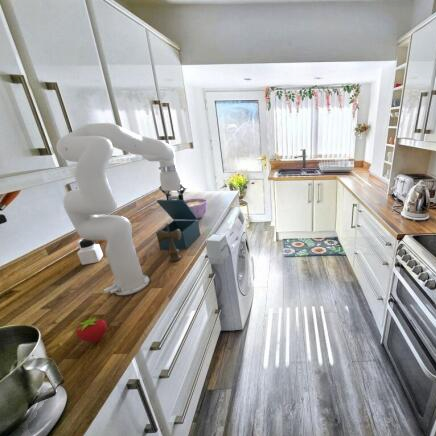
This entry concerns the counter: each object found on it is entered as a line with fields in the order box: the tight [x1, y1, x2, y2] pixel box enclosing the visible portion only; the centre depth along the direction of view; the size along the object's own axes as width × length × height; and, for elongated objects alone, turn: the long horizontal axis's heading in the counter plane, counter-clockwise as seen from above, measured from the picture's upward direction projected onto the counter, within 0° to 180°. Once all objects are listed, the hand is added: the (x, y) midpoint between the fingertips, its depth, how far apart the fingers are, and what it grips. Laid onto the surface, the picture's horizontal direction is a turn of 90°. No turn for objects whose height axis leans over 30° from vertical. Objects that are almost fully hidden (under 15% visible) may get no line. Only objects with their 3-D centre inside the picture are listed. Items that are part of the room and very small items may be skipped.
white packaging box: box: [204, 233, 230, 266], centre depth 115 cm, size 7×7×13 cm
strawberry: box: [75, 316, 108, 344], centre depth 73 cm, size 6×8×10 cm
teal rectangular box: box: [155, 219, 201, 250], centre depth 137 cm, size 18×15×10 cm
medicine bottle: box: [76, 238, 104, 266], centre depth 120 cm, size 7×7×12 cm
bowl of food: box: [183, 197, 208, 219], centre depth 174 cm, size 20×20×12 cm
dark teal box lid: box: [156, 195, 199, 221], centre depth 137 cm, size 19×15×5 cm
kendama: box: [156, 222, 182, 262], centre depth 116 cm, size 6×10×20 cm, turn 94°
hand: (175, 201), depth 133 cm, fingers closed on dark teal box lid, 6 cm apart
